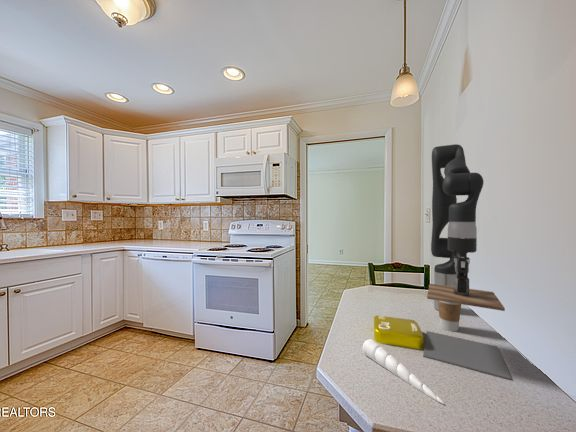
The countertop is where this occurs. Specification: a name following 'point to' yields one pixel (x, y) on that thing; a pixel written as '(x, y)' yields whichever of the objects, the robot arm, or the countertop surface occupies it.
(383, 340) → the element tile
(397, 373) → the unicorn horn
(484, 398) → the countertop surface
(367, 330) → the countertop surface
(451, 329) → the coffee cup
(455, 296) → the walnut lid
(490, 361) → the rubber mat
